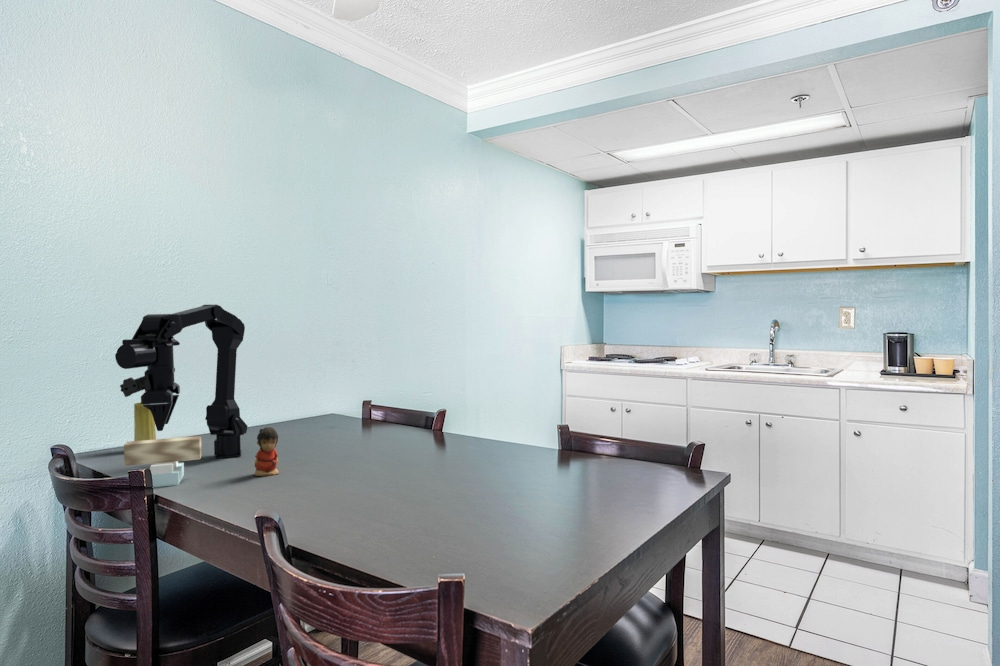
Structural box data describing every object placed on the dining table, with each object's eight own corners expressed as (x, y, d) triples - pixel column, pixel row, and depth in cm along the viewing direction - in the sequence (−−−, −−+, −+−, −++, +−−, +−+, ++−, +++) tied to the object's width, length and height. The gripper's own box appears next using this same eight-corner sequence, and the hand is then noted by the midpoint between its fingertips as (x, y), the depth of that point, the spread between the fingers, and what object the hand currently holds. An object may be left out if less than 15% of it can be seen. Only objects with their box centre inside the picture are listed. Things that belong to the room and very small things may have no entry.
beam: (201, 455, 149) (201, 436, 149) (199, 459, 145) (199, 439, 145) (128, 462, 143) (127, 441, 143) (124, 465, 139) (123, 444, 139)
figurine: (248, 475, 149) (247, 428, 148) (266, 470, 154) (265, 424, 153) (265, 478, 146) (265, 430, 145) (283, 472, 151) (282, 426, 150)
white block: (184, 474, 150) (183, 454, 150) (178, 484, 141) (178, 464, 141) (152, 477, 147) (152, 457, 147) (144, 488, 138) (144, 466, 138)
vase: (161, 447, 181) (160, 401, 180) (147, 452, 175) (146, 404, 174) (143, 447, 181) (141, 401, 181) (128, 452, 175) (127, 404, 175)
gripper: (130, 363, 151) (132, 423, 152) (114, 369, 134) (116, 437, 135) (179, 361, 156) (181, 419, 156) (169, 367, 138) (172, 433, 139)
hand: (162, 427), depth 146 cm, fingers open, 9 cm apart
